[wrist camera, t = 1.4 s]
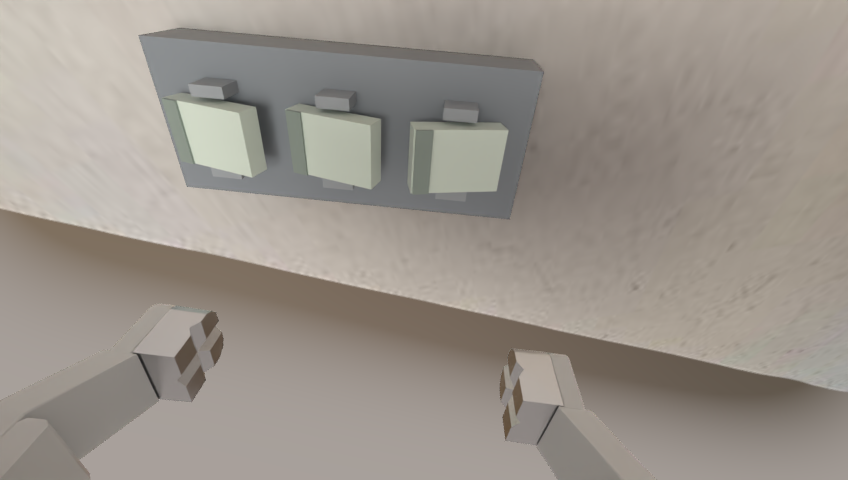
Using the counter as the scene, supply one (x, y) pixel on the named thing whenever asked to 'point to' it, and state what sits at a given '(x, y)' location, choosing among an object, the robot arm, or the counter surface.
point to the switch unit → (349, 107)
